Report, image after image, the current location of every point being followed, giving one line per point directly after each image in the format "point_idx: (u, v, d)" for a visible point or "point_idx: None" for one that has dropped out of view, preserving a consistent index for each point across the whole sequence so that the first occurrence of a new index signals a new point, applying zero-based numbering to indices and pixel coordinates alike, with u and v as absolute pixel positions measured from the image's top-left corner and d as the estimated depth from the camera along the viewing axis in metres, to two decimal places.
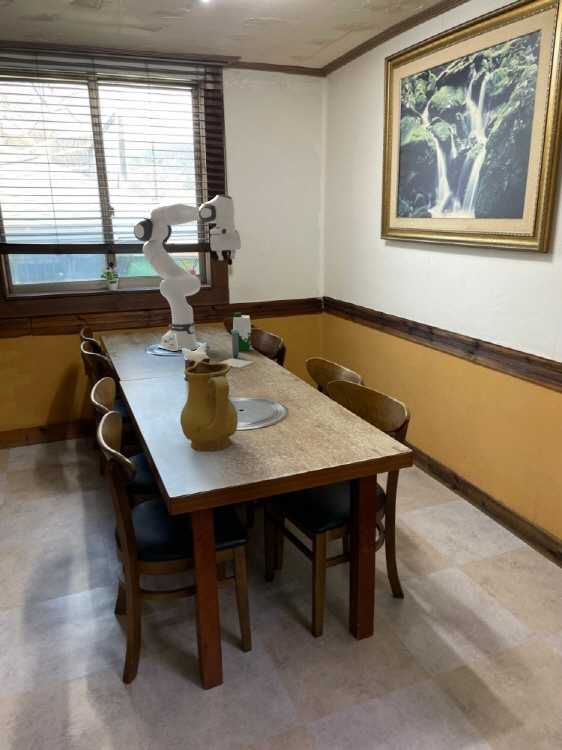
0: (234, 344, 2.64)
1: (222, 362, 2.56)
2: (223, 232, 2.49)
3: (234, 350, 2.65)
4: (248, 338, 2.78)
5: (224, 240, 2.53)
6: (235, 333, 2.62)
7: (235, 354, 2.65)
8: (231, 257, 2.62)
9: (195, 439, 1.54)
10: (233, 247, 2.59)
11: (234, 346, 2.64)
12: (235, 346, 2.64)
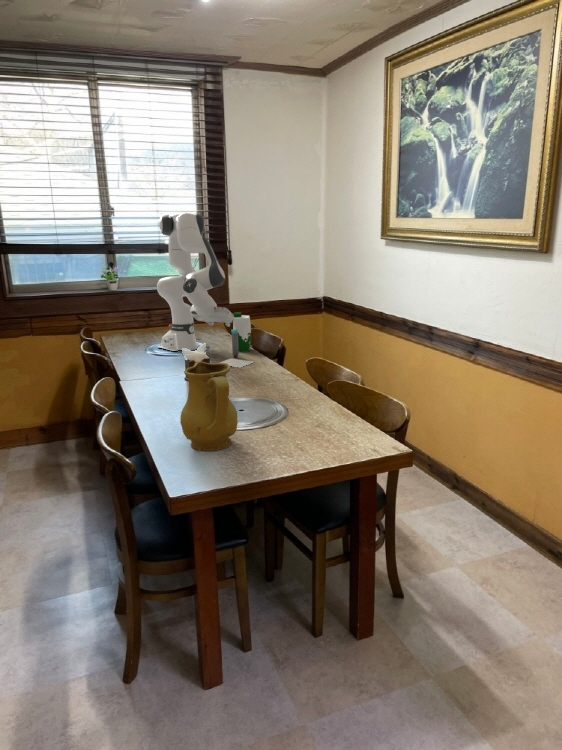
0: (234, 344, 2.64)
1: (222, 362, 2.56)
2: (194, 313, 2.44)
3: (234, 350, 2.65)
4: (248, 338, 2.78)
5: None
6: (235, 333, 2.62)
7: (235, 354, 2.65)
8: None
9: (195, 439, 1.54)
10: (219, 321, 2.45)
11: (234, 346, 2.64)
12: (235, 346, 2.64)
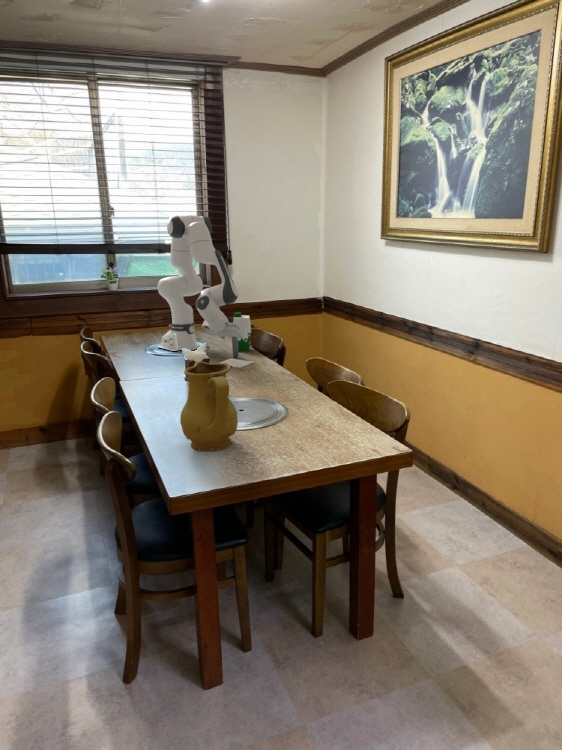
0: (234, 344, 2.64)
1: (222, 362, 2.56)
2: (206, 327, 2.54)
3: (234, 350, 2.65)
4: (248, 338, 2.78)
5: None
6: None
7: (235, 354, 2.65)
8: None
9: (195, 439, 1.54)
10: (230, 335, 2.55)
11: (234, 346, 2.64)
12: (235, 346, 2.64)
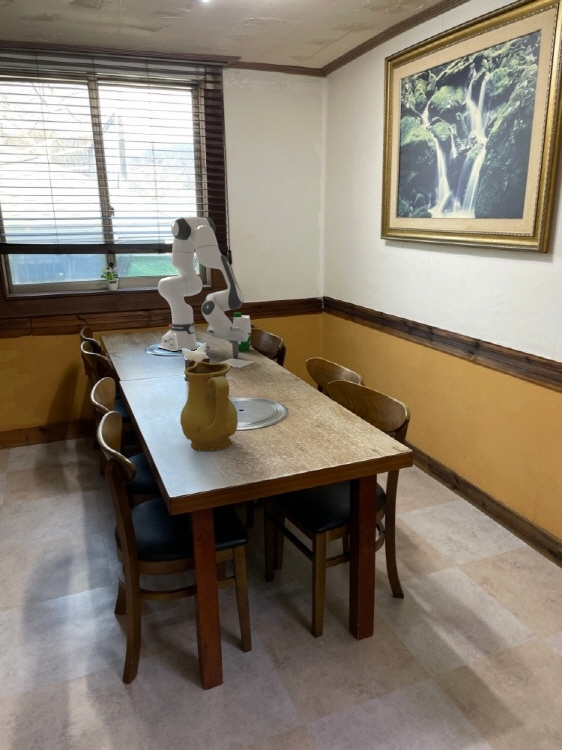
0: (234, 344, 2.64)
1: (222, 362, 2.56)
2: (211, 332, 2.57)
3: (234, 350, 2.65)
4: (248, 338, 2.78)
5: None
6: None
7: (235, 354, 2.65)
8: None
9: (195, 439, 1.54)
10: (235, 340, 2.59)
11: (234, 346, 2.64)
12: (235, 346, 2.64)
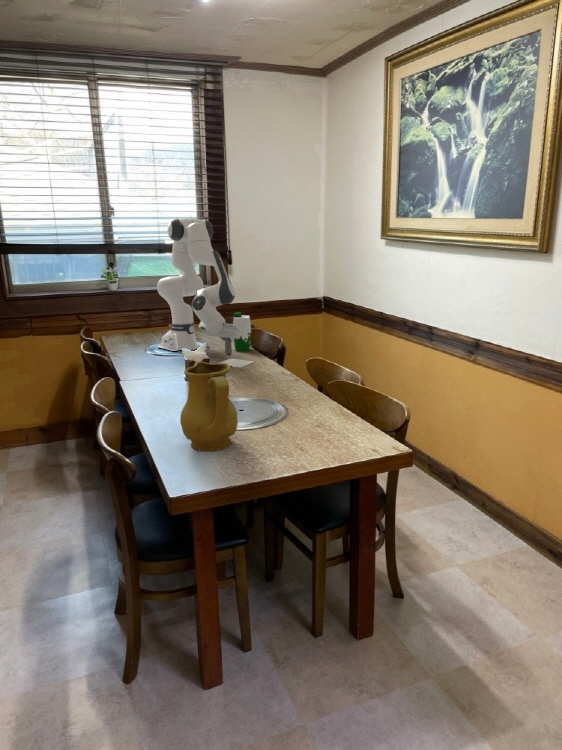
0: (227, 341, 2.53)
1: (222, 362, 2.56)
2: (202, 329, 2.47)
3: (227, 348, 2.54)
4: (248, 338, 2.78)
5: None
6: None
7: (228, 352, 2.54)
8: None
9: (195, 439, 1.54)
10: (227, 337, 2.48)
11: (227, 343, 2.53)
12: (228, 343, 2.53)
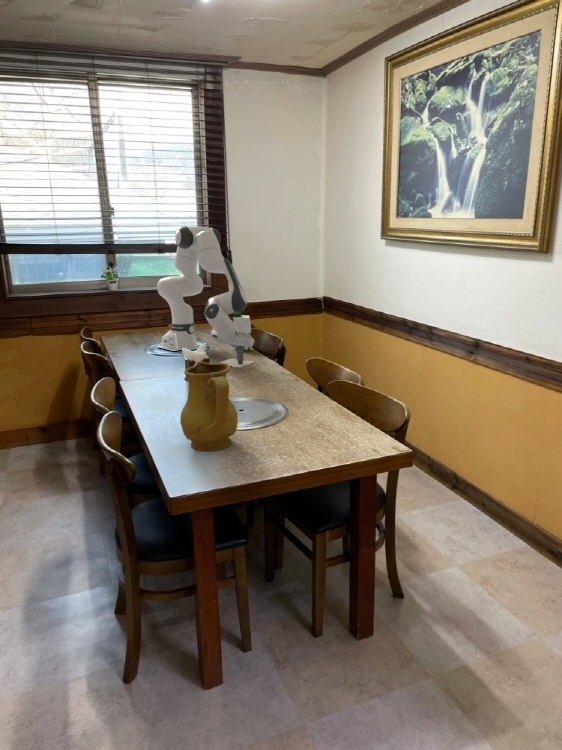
0: (238, 350, 2.51)
1: (222, 362, 2.56)
2: (214, 336, 2.44)
3: (239, 356, 2.51)
4: None
5: None
6: None
7: (240, 360, 2.52)
8: None
9: (195, 439, 1.54)
10: (240, 345, 2.46)
11: (239, 352, 2.51)
12: (240, 352, 2.51)
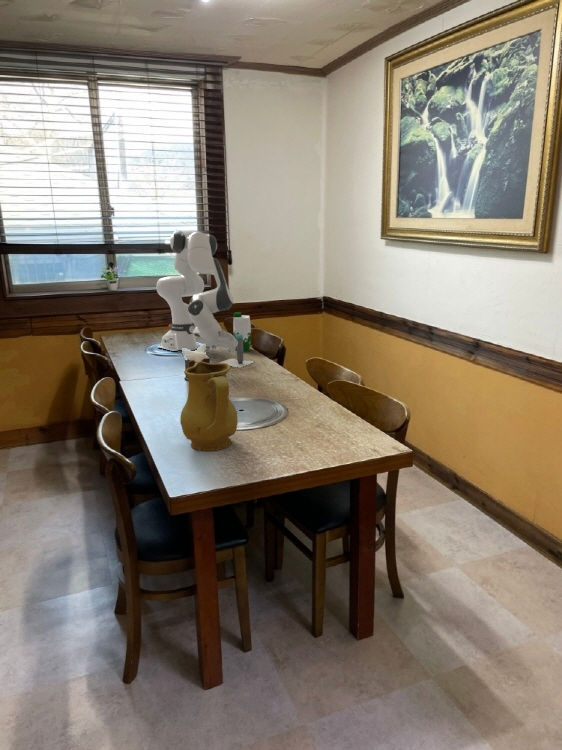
0: (238, 350, 2.51)
1: (222, 362, 2.56)
2: (196, 335, 2.33)
3: (239, 356, 2.52)
4: (248, 338, 2.78)
5: None
6: (240, 338, 2.49)
7: (240, 360, 2.52)
8: None
9: (195, 439, 1.54)
10: (222, 346, 2.35)
11: (239, 352, 2.51)
12: (240, 352, 2.51)
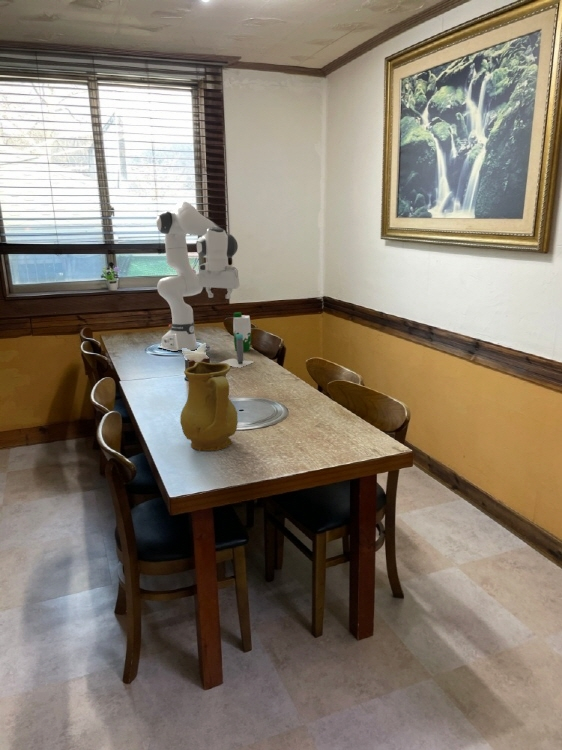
0: (238, 350, 2.51)
1: (222, 362, 2.56)
2: (202, 268, 2.32)
3: (239, 356, 2.52)
4: (248, 338, 2.78)
5: (210, 277, 2.33)
6: (240, 338, 2.49)
7: (240, 360, 2.52)
8: None
9: (195, 439, 1.54)
10: (222, 286, 2.30)
11: (239, 352, 2.51)
12: (240, 352, 2.51)
